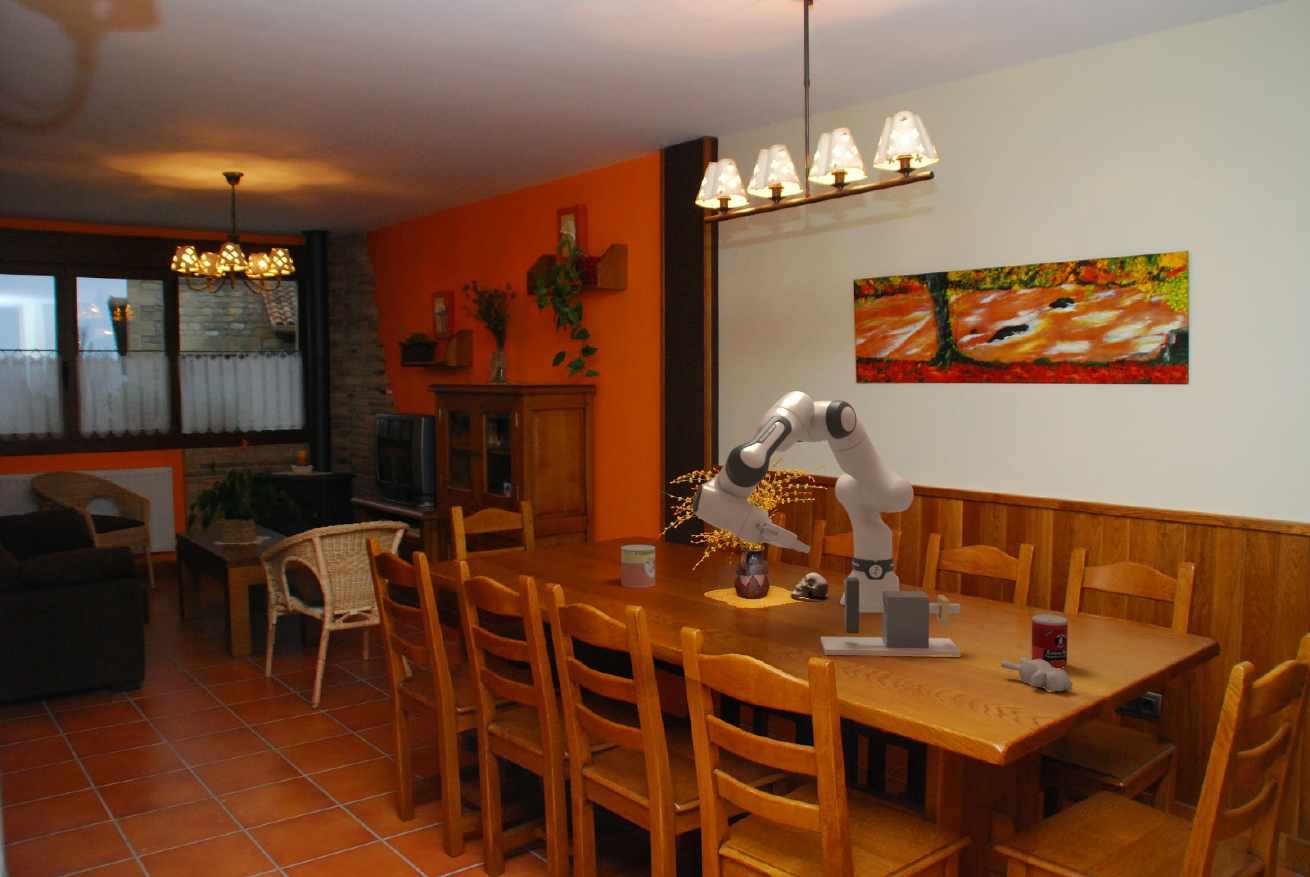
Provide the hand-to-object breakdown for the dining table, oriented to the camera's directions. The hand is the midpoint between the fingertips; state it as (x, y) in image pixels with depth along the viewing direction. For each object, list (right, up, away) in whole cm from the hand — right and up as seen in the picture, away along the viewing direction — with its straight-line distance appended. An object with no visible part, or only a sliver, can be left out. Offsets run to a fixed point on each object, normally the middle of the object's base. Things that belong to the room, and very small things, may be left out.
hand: (805, 549), depth 242 cm
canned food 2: (+55, -26, -12) cm, 62 cm away
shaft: (+24, -20, +1) cm, 31 cm away
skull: (+11, -22, +60) cm, 65 cm away
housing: (+25, -25, +1) cm, 35 cm away
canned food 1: (-42, -21, +82) cm, 95 cm away
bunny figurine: (+47, -27, -27) cm, 60 cm away
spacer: (+34, -18, 0) cm, 38 cm away
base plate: (+21, -25, +1) cm, 32 cm away
